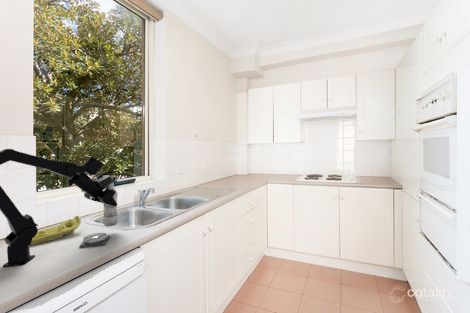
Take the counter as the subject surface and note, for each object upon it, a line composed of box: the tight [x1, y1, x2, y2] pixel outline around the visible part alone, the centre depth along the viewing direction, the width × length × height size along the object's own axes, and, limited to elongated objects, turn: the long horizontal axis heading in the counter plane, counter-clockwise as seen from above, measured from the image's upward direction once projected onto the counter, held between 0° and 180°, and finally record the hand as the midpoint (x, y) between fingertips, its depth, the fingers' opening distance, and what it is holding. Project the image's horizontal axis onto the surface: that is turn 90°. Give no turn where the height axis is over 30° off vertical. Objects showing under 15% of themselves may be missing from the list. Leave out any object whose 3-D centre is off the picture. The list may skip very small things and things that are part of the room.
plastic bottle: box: [102, 181, 119, 227], centre depth 111 cm, size 6×7×20 cm
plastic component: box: [29, 215, 82, 246], centre depth 109 cm, size 20×7×10 cm
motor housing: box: [79, 232, 111, 249], centre depth 101 cm, size 9×9×2 cm
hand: (113, 204), depth 112 cm, fingers closed on plastic bottle, 6 cm apart
